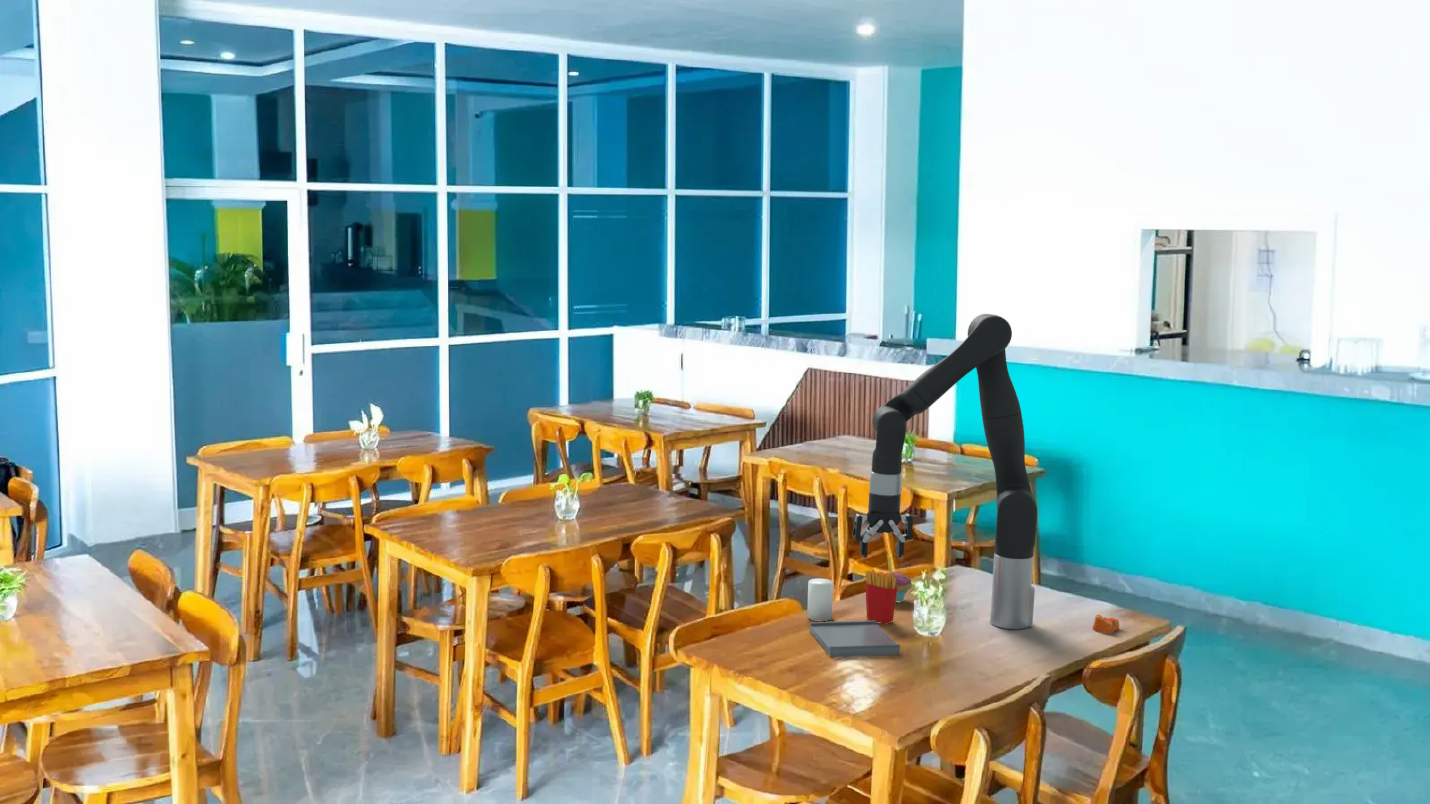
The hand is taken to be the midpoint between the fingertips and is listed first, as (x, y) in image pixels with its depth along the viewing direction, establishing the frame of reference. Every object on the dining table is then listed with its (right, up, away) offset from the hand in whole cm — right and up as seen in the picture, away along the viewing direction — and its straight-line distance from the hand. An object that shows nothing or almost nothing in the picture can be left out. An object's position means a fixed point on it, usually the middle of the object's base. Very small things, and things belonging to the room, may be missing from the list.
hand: (881, 556), depth 318 cm
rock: (+54, -18, 0) cm, 57 cm away
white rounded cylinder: (-15, -15, +2) cm, 21 cm away
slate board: (-8, -18, -15) cm, 25 cm away
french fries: (0, -16, +2) cm, 16 cm away
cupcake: (+6, -14, +19) cm, 24 cm away
